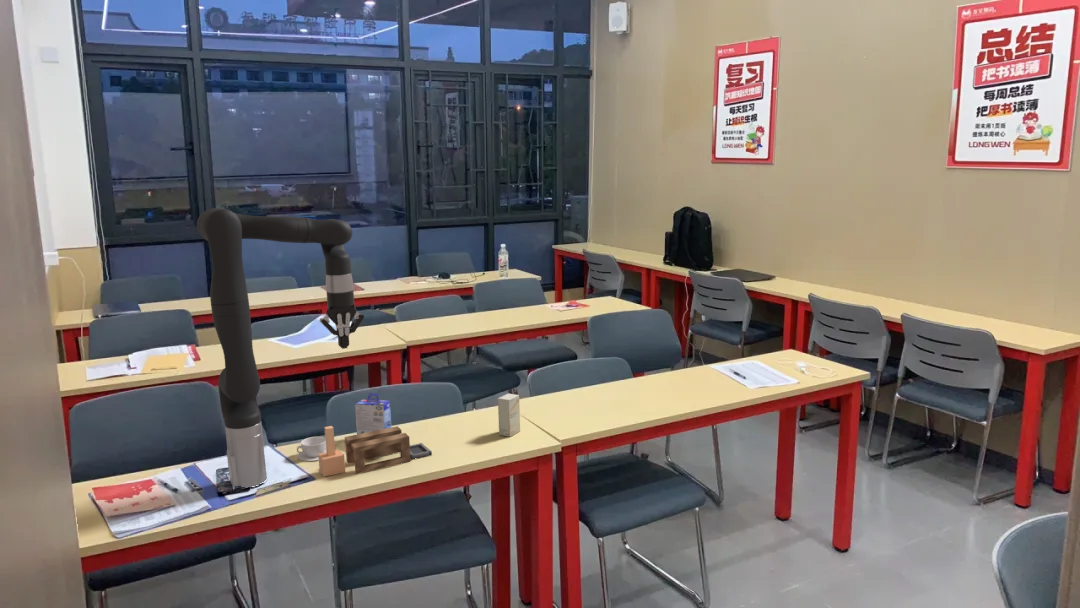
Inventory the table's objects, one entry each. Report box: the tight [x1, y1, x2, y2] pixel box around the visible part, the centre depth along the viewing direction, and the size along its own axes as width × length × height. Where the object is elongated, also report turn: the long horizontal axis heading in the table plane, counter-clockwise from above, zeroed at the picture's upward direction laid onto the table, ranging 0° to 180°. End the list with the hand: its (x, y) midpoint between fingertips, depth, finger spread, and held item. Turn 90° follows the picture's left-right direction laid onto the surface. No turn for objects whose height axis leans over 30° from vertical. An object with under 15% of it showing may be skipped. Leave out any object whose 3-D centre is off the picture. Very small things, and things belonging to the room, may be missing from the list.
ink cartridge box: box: [354, 392, 392, 435], centre depth 240 cm, size 10×6×14 cm, turn 78°
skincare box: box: [497, 393, 521, 437], centre depth 243 cm, size 6×4×12 cm
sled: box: [318, 425, 346, 477], centre depth 216 cm, size 6×5×13 cm
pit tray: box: [410, 442, 433, 460], centre depth 229 cm, size 6×8×1 cm
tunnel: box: [344, 425, 412, 475], centre depth 223 cm, size 16×10×8 cm, turn 120°
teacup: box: [296, 436, 326, 462], centre depth 229 cm, size 10×10×5 cm
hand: (344, 347), depth 223 cm, fingers closed
